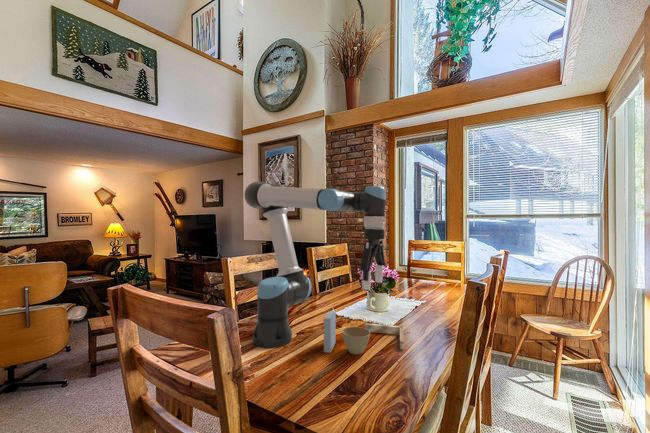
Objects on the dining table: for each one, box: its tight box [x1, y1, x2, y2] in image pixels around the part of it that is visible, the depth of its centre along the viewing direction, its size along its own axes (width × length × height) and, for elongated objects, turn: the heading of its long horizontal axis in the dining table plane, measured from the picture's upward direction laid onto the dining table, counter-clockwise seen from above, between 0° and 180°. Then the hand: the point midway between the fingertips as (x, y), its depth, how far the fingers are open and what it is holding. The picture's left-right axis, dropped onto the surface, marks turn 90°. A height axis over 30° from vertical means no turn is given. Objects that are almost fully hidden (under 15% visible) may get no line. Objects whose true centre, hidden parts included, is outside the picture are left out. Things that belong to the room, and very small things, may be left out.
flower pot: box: [341, 326, 371, 355], centre depth 106 cm, size 10×10×7 cm
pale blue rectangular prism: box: [323, 310, 337, 354], centre depth 109 cm, size 2×9×12 cm, turn 166°
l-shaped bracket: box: [364, 322, 405, 351], centre depth 117 cm, size 16×16×3 cm
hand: (372, 285), depth 109 cm, fingers open, 13 cm apart
